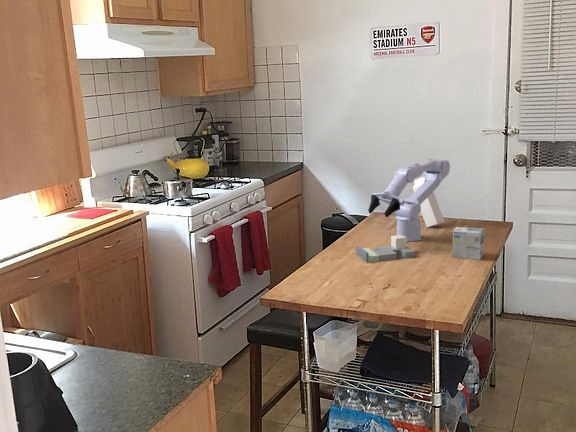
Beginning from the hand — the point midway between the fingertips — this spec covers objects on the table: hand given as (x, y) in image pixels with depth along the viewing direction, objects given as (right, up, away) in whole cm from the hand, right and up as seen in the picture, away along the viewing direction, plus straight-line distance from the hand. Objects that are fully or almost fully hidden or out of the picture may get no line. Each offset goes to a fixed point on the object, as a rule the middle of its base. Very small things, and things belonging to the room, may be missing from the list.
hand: (377, 213), depth 263 cm
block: (+8, -13, 0) cm, 16 cm away
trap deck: (+2, -16, -3) cm, 17 cm away
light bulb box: (+34, -17, -7) cm, 38 cm away
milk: (+31, -5, +35) cm, 47 cm away
